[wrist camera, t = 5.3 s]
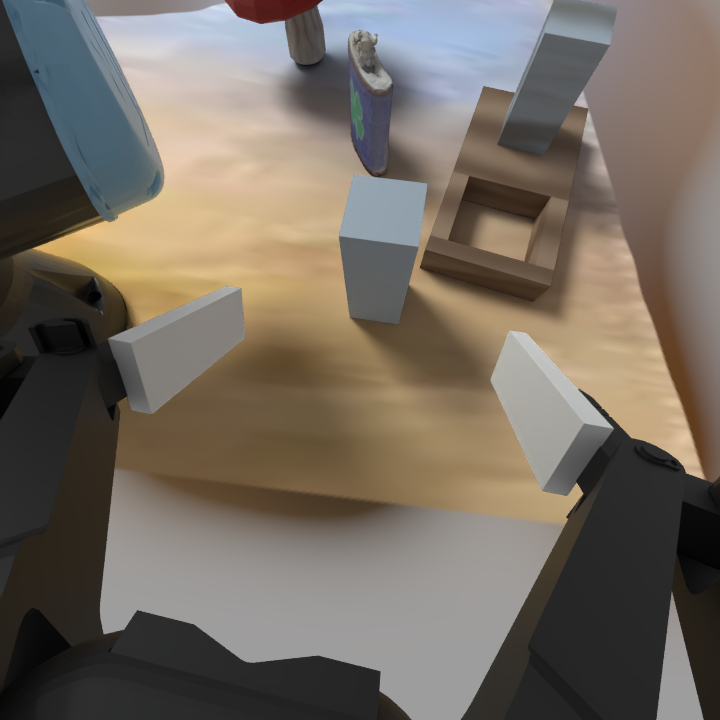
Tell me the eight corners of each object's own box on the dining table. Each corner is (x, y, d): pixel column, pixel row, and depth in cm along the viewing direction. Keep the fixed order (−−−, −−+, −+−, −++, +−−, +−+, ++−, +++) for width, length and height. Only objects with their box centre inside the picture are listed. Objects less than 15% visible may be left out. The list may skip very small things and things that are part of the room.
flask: (390, 174, 35) (399, 61, 25) (366, 180, 35) (366, 69, 25) (367, 121, 38) (366, -1, 27) (345, 126, 37) (336, 6, 27)
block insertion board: (533, 301, 30) (637, 210, 18) (419, 267, 31) (450, 163, 20) (570, 135, 36) (665, -10, 25) (474, 113, 37) (522, -34, 26)
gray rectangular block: (398, 324, 30) (418, 246, 18) (349, 317, 30) (338, 236, 18) (405, 281, 31) (427, 183, 19) (358, 274, 31) (353, 174, 20)
